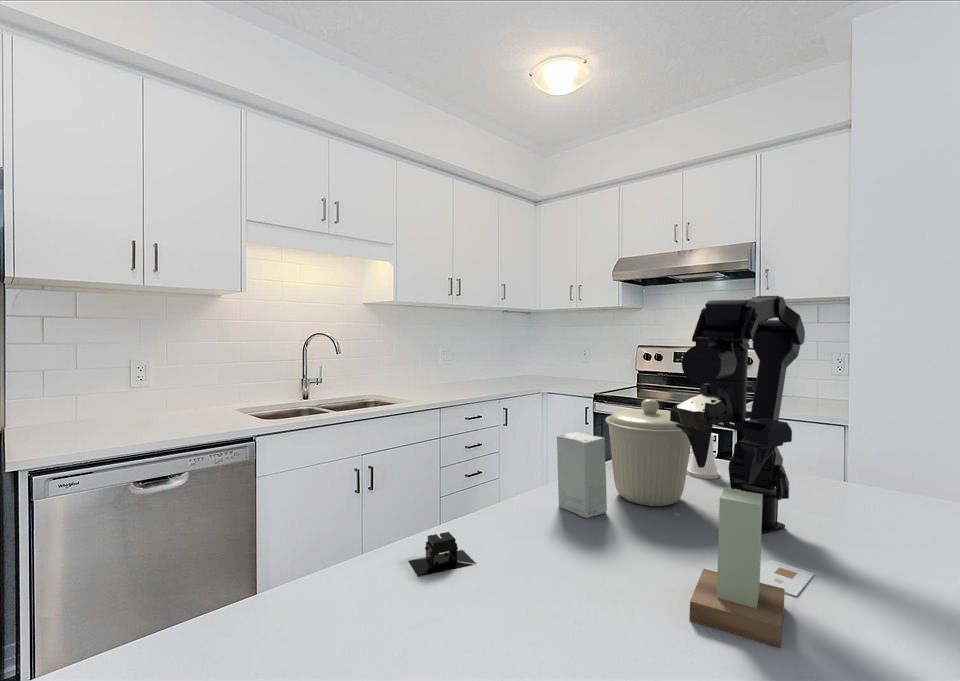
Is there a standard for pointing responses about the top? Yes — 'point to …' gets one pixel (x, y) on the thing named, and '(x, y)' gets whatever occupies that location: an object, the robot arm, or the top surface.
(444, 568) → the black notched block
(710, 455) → the vase
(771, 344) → the robot arm
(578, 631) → the top surface
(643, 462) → the canister
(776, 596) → the foundation slab
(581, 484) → the skincare box
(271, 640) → the top surface
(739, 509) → the pillar
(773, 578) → the blueprint card
